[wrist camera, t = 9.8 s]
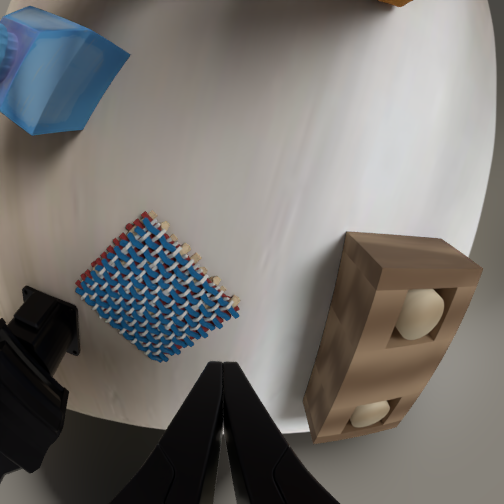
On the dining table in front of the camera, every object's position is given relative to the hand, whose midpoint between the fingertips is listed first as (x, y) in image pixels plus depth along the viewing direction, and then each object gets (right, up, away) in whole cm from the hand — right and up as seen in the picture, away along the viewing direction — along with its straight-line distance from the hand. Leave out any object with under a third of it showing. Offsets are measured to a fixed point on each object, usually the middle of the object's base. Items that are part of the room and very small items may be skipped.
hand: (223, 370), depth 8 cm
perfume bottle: (-12, +16, +6) cm, 21 cm away
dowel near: (+13, +1, +15) cm, 19 cm away
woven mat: (-7, +1, +14) cm, 16 cm away
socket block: (+12, -4, +17) cm, 21 cm away
